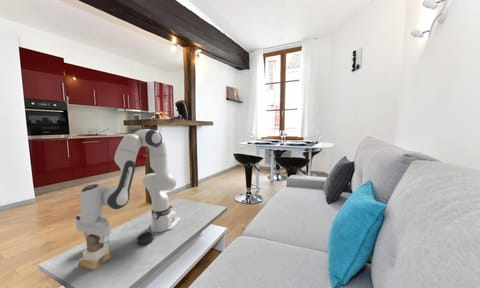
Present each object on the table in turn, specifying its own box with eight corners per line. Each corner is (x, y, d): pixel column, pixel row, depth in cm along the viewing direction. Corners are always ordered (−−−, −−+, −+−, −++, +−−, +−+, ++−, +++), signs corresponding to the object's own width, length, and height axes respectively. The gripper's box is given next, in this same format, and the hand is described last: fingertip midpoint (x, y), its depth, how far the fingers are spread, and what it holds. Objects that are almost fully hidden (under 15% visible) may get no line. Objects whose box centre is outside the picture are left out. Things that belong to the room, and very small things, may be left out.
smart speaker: (149, 235, 127) (149, 230, 127) (156, 240, 122) (155, 234, 121) (135, 241, 120) (135, 236, 120) (141, 247, 115) (141, 241, 114)
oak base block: (98, 254, 109) (97, 248, 109) (111, 258, 106) (110, 251, 106) (79, 267, 99) (78, 260, 99) (93, 271, 97) (92, 264, 96)
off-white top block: (97, 249, 107) (96, 242, 107) (109, 251, 106) (108, 244, 106) (83, 259, 100) (82, 252, 99) (96, 261, 98) (95, 253, 98)
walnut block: (96, 245, 105) (95, 231, 104) (103, 246, 104) (102, 232, 103) (87, 251, 100) (86, 236, 99) (94, 252, 99) (93, 237, 98)
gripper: (113, 216, 100) (115, 240, 101) (85, 210, 106) (87, 234, 107) (101, 221, 94) (103, 248, 95) (72, 216, 100) (74, 240, 101)
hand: (94, 240), depth 101 cm, fingers open, 8 cm apart
